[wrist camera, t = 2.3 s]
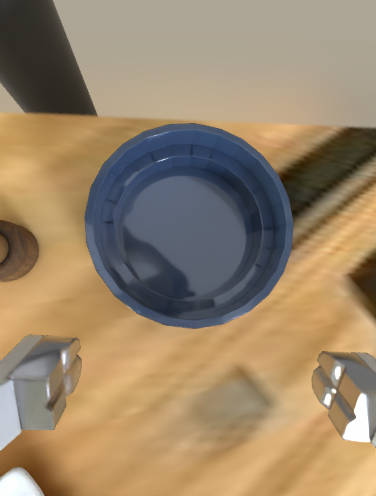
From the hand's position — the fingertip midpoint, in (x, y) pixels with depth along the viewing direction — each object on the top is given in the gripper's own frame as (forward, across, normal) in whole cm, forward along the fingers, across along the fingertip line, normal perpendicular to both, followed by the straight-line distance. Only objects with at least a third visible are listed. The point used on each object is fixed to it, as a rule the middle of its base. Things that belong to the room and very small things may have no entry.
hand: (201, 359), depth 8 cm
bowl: (+21, 0, +1) cm, 21 cm away
